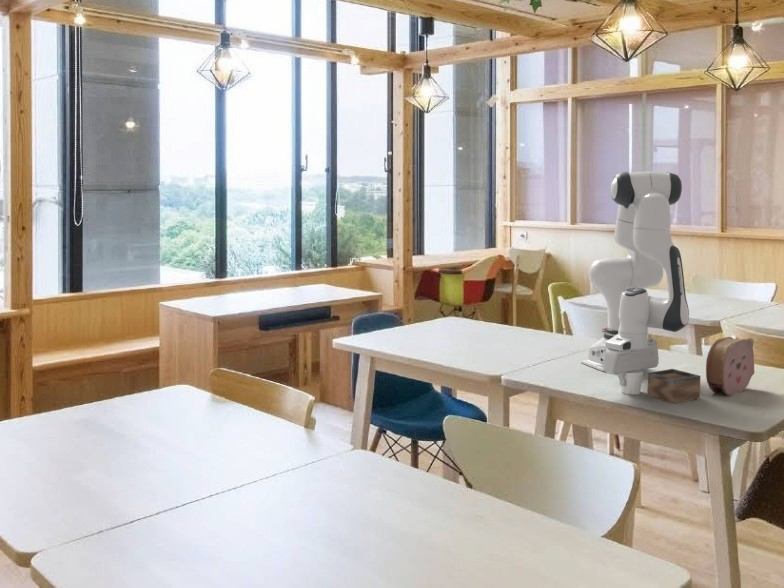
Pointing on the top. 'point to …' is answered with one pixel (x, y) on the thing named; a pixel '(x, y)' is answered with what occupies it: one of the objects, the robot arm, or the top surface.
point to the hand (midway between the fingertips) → (631, 384)
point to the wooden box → (673, 385)
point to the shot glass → (632, 382)
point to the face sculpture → (730, 365)
